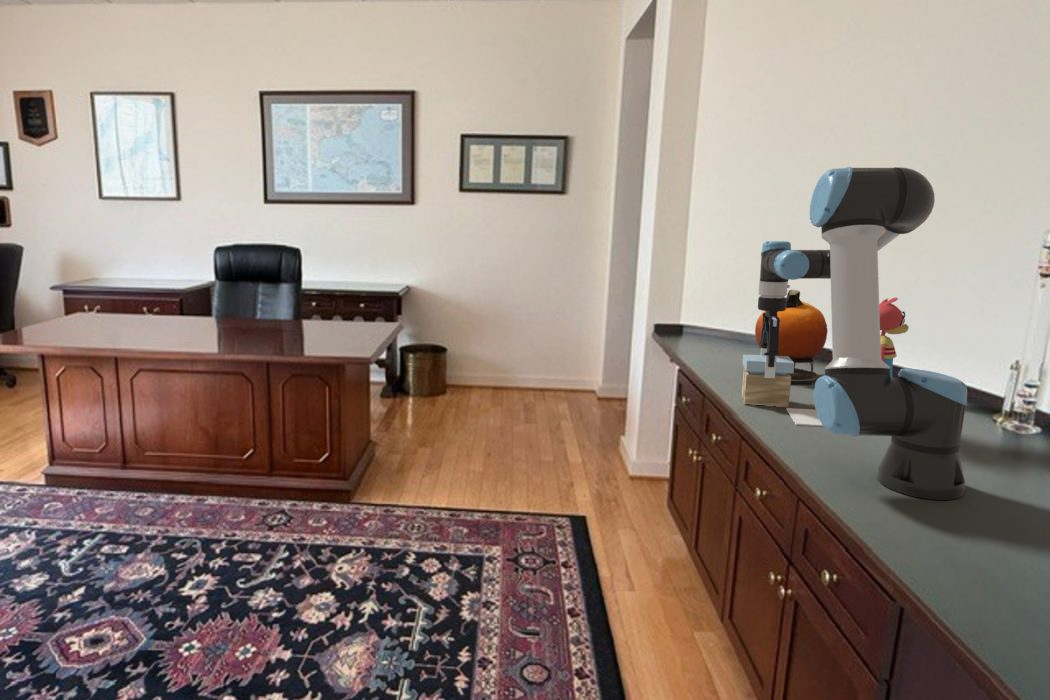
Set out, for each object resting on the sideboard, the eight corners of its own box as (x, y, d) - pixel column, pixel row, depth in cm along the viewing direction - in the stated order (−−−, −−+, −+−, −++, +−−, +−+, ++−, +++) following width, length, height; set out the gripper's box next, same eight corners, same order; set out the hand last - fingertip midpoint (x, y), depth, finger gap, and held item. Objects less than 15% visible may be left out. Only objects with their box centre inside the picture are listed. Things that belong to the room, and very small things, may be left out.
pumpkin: (778, 366, 231) (785, 283, 224) (837, 379, 212) (846, 289, 206) (738, 374, 219) (744, 287, 213) (797, 389, 200) (805, 294, 194)
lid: (792, 378, 179) (794, 362, 178) (745, 376, 181) (746, 360, 181) (787, 371, 187) (788, 356, 187) (742, 369, 190) (743, 354, 189)
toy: (909, 403, 185) (922, 300, 179) (871, 401, 187) (883, 299, 181) (891, 389, 199) (903, 294, 193) (856, 388, 201) (867, 293, 195)
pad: (854, 428, 163) (854, 427, 163) (796, 424, 166) (796, 423, 166) (839, 412, 177) (839, 411, 177) (786, 409, 180) (786, 408, 180)
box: (788, 407, 182) (791, 376, 180) (744, 404, 184) (746, 374, 182) (783, 399, 189) (786, 370, 187) (741, 397, 191) (743, 368, 189)
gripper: (794, 301, 169) (787, 383, 173) (780, 292, 190) (774, 366, 194) (764, 300, 170) (758, 382, 175) (753, 291, 191) (748, 365, 196)
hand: (766, 373), depth 184 cm, fingers closed on lid, 9 cm apart
